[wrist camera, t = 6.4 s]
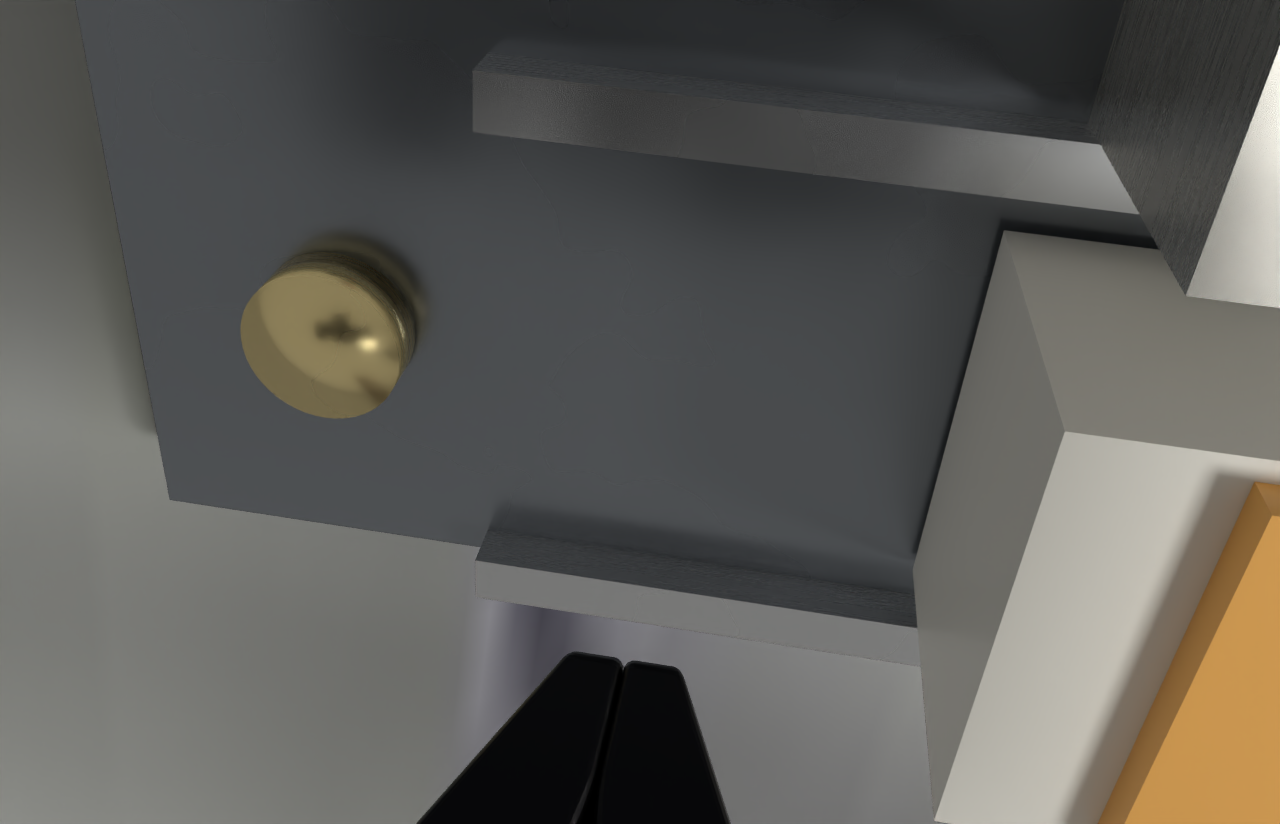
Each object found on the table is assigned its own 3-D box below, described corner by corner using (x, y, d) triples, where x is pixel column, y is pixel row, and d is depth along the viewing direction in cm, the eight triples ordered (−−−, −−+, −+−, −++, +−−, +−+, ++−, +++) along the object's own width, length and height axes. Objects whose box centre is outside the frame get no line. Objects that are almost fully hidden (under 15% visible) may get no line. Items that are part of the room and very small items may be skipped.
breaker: (1428, 284, 11) (1687, 550, 8) (1258, 621, 13) (1397, 935, 10) (1003, 229, 11) (1073, 464, 8) (912, 569, 14) (937, 857, 10)
